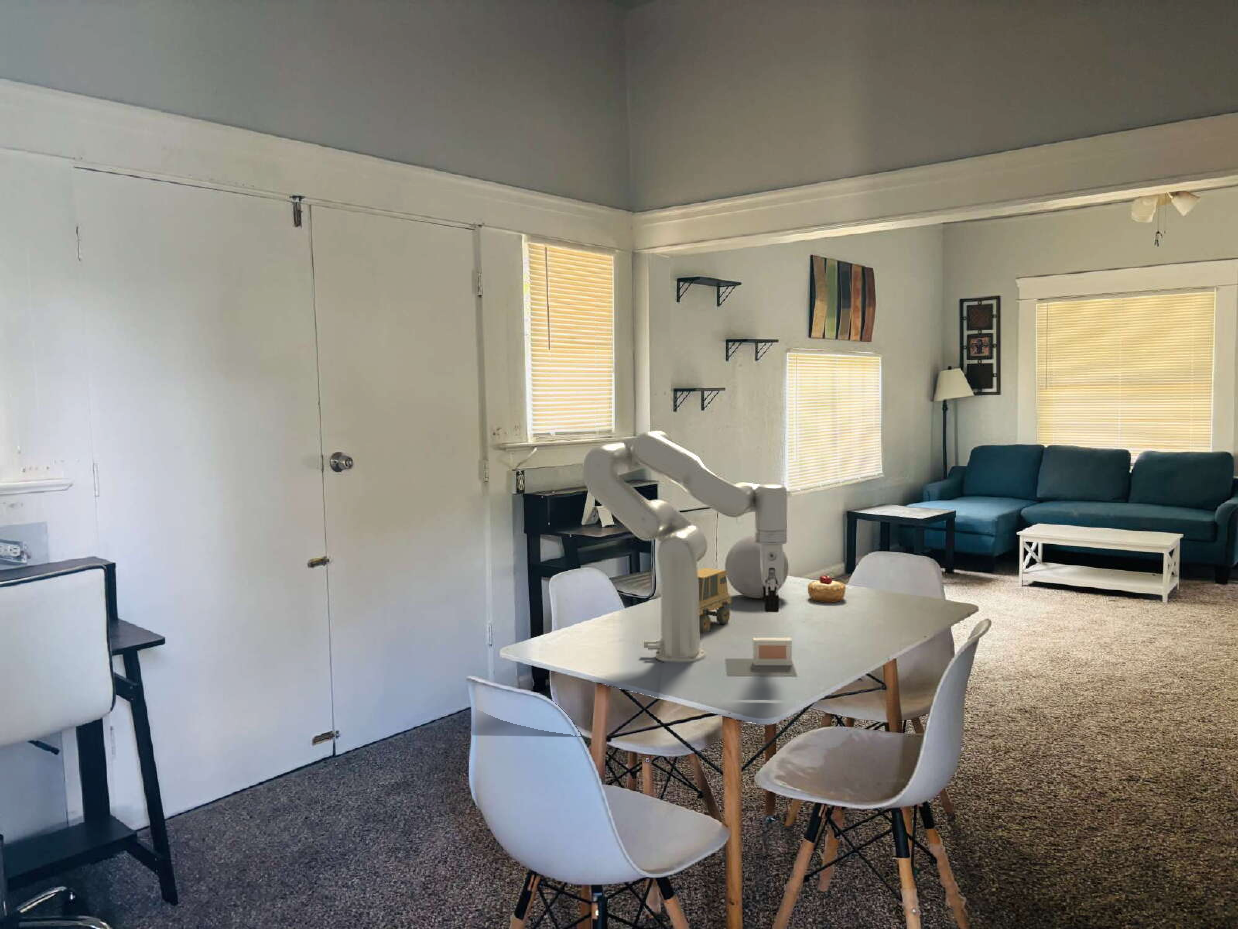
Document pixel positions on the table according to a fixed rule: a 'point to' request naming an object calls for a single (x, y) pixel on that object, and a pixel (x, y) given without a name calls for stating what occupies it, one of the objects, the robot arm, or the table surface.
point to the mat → (758, 669)
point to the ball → (748, 568)
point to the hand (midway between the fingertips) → (770, 607)
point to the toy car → (712, 597)
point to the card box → (772, 651)
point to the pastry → (826, 589)
